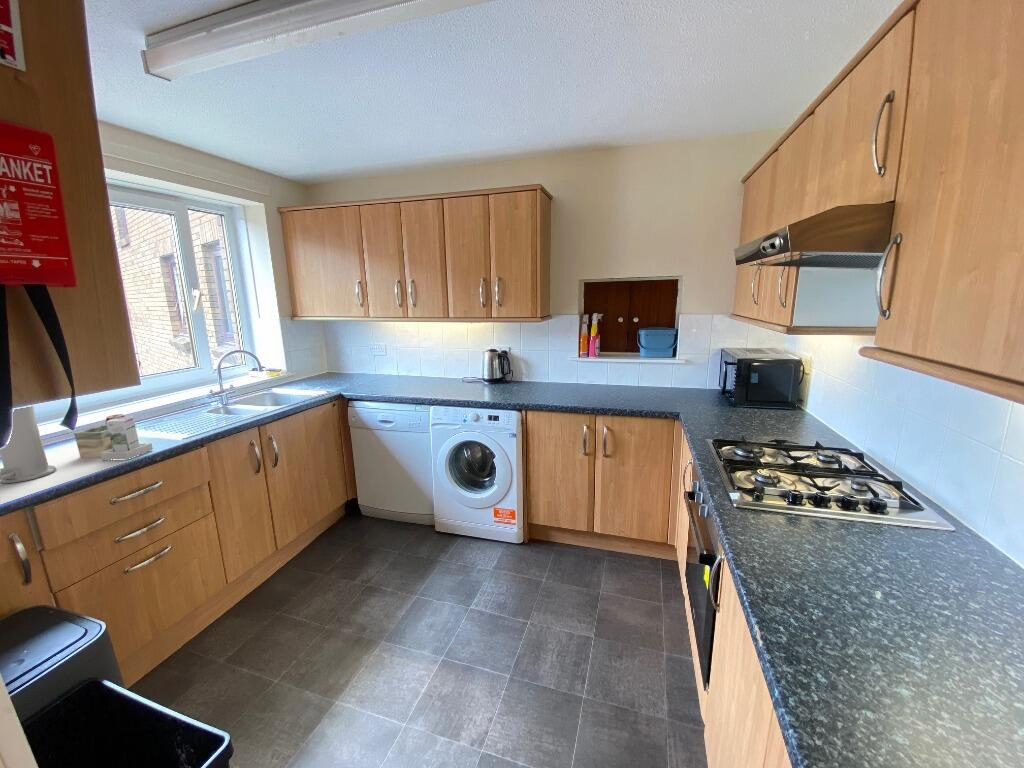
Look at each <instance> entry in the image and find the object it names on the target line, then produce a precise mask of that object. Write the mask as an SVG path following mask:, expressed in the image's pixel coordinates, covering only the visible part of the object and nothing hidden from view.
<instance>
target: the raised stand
mask: <svg viewBox="0 0 1024 768" xmlns="http://www.w3.org/2000/svg"><path fill="white" fill-rule="evenodd" d="M73 435H74V438H75V442H76V445H77V450H78V455H79V458H101V454H100V453H101V452H104V451H107V450H110V449H113V448H112V444H111V440H110V436H109V432H108V428H107V425H106V424H105V425H103V424H101V425H98V426H93V427H91V428H89V429H85V430H81V431H77V432H74V433H73Z"/></svg>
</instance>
